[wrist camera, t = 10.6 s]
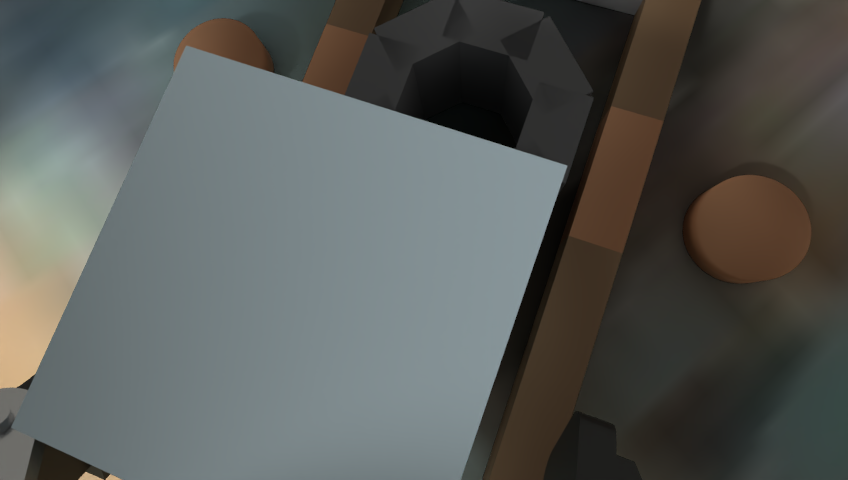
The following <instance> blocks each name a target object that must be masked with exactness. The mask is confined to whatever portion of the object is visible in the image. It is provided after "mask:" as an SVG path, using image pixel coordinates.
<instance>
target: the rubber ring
mask: <svg viewBox="0 0 848 480" xmlns="http://www.w3.org/2000/svg"><path fill="white" fill-rule="evenodd" d="M544 13H545V12H542V11H539V10H535V9H531V8H527V7H524V6H520V5H516V4H512V3H509V2H505V1H501V0H431V1H429V2H427V3H425V4H423V5H421V6H419V7H417V8H415V9H413V10H410V11H408V12H406V13H404V14H402V15H400V16H398V17H396V18H394V19H392V20H390V21H388V22H386V23H384V24H381V25H379V26H377V27H375V28H374V30H375V33H376V34H372V33H369V35H368V38H367V40H366V43H365V45H364V48H363V50H362V53H361V55H360V58H359V60H358V63H357V65H356V68H355V70H354V73H353V75H352V78H351V80H350V82H349V85H348V87H347V90H346V92H345V96H348V97H351V98H354V99H358V100H361V101H364V102H367V103H370V104H373V105H377V106H380V107H383V108H386V109H389V110H392V111H396V112H399V113H402V114H405V115H408V116H411V117H415V118H418V119H421V120H424V121H425V120H426V119H428V118H430V117H432V116H434V115H436V114H438V113H440V112H442V111H444V110H446V109H449V108H451V107H453V106H455V105H457V104H459V103H461V102H463V103H466V104H470V105H473V106H476V107H480V108H483V109H486V110H490V111H493V112H496V113H500V114H501V116H502V117H503V119H504V121H505V123H506V125H507V127H508V129H509V130H510V132H511V134H512V136H513V138H514V140H515V142H516V144H517V146H516V148H514V149H516V150H519V151H522V152H526V153H529V154H532V155H535V156H538V157H541V158H545V159H548V160H551V161H554V162H557V163H560V164H564V165H567V169H566V172H565V174H564V177H563V180H562V183H561V186H560V189H559V192H560V191H561V189H562V188H563V186H564V185H565V183H566V181H567V178H568V175H569V172H570V169H571V166H572V163H573V160H574V157H575V154H576V151H577V148H578V145H579V142H580V139H581V136H582V133H583V130H584V127H585V124H586V121H587V118H588V115H589V112H590V109H591V105H592V102H593V99H594V97H591V95H592V93H593V89H592V88H591V86H590V84H589V82H588V81H587V79H586V77H585V76H584V74H583V72H582V70H581V69H580V67H579V65H578V64H577V62H576V60H575V58H574V57H573V55H572V53H571V52H570V50H569V48H568V46H567V45H566V43H565V41H564V40H563V38H562V36H561V34H560V33H559V31H558V29H557V27H556V26H555V24H554V22H553V21H552V19H551V17H550V16H549V17H547V18H545V19H543V17H544ZM559 192H558V194H559Z"/></svg>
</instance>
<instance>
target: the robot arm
mask: <svg viewBox="0 0 848 480" xmlns="http://www.w3.org/2000/svg"><path fill="white" fill-rule="evenodd" d="M34 376H35V375H34ZM34 376H32V377H31V378H30V379H29V380H27V381H26V382H25V383H23V384H22V385H20V386H19V387H17V388H2V389H0V480H78V479H79V478H80V477H81V476H82V475H83V474H84V473H85V472H88V473H90V474H93V475H95V476H97V477H99V478H101V479H104V480H105V479H106V478H107V477H108V476H109V475H110V473H107V472H105V471H103V470H101V469H99V468H97V467H94V466H92V465H90V464H88V463H86V462H84V461H82V460H79V459H77V458H75V457H73V456H71V455H69V454H66V453H64V452H62V451H60V450H58V449H56V448H54V447H51V446H49V445H47V444H45V443H43V442H41V441H38V440H36V439H34V438H32V437H30V436H28V435H26V434H23V433H21V432H19V431H17V430H15V429H13V428H11V427H12V424H13V422H14V420H15V418H16V416H17V413H18V411H19V409H20V407H21V405H22V403H23V400H24V398H25V396H26V394H27V392H28V389H29V387H30V385H31V383H32V381H33V379H34ZM543 480H642V478H641V476H640V474H639V471H638V469H637V467H636V464H635V462H633V461H631V460H628V459H625V458H623V457H620V456H617V455H616V429H615V426H614V425H613V424H611V423H608V422H605V421H603V420H600V419H597V418H594V417H592V416H589V415H586V414H583V413H581V412H578V411H576V412H575V413H574V414H573V416H572V417H571V419H570V421H569V423H568V424H567V426H566V428H565V429H564V431H563V433H562V435H561V436H560V438H559V440H558V441H557V443H556V445H555V447H554V448H553V450H552V452H551V454H550V457H549V459H548V462H547V466H546V469H545V474H544V479H543Z"/></svg>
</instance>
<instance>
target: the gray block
mask: <svg viewBox="0 0 848 480" xmlns="http://www.w3.org/2000/svg"><path fill="white" fill-rule="evenodd" d="M566 169H567V165H564V164H560V163H557V162H554V161H551V160H548V159H545V158H541V157H538V156H535V155H532V154H529V153H526V152H522V151H519V150H516V149H513V148H510V147H507V146H503V145H500V144H497V143H494V142H491V141H488V140H484V139H481V138H478V137H475V136H472V135H469V134H465V133H462V132H459V131H456V130H453V129H450V128H446V127H443V126H440V125H437V124H434V123H430V122H427V121H424V120H421V119H418V118H415V117H411V116H408V115H405V114H402V113H399V112H396V111H392V110H389V109H386V108H383V107H380V106H377V105H373V104H370V103H367V102H364V101H361V100H358V99H354V98H351V97H348V96H345V95H342V94H339V93H335V92H332V91H329V90H326V89H323V88H319V87H316V86H313V85H310V84H307V83H304V82H300V81H297V80H294V79H291V78H288V77H285V76H281V75H278V74H275V73H272V72H269V71H266V70H262V69H259V68H256V67H253V66H250V65H247V64H243V63H240V62H237V61H234V60H231V59H228V58H224V57H221V56H218V55H215V54H212V53H208V52H205V51H202V50H199V49H196V48H193V47H189V46H186V47H185V49H184V51H183V53H182V56H181V58H180V60H179V62H178V64H177V67H176V69H175V71H174V73H173V75H172V77H171V80H170V82H169V84H168V86H167V88H166V91H165V93H164V95H163V97H162V99H161V101H160V104H159V106H158V108H157V110H156V112H155V115H154V117H153V119H152V121H151V123H150V125H149V128H148V130H147V132H146V134H145V136H144V139H143V141H142V143H141V145H140V147H139V149H138V152H137V154H136V156H135V158H134V160H133V163H132V165H131V167H130V169H129V171H128V173H127V176H126V178H125V180H124V182H123V184H122V187H121V189H120V191H119V193H118V195H117V197H116V200H115V202H114V204H113V206H112V208H111V211H110V213H109V215H108V217H107V219H106V221H105V224H104V226H103V228H102V230H101V232H100V235H99V237H98V239H97V241H96V243H95V245H94V248H93V250H92V252H91V254H90V256H89V259H88V261H87V263H86V265H85V267H84V269H83V272H82V274H81V276H80V278H79V280H78V283H77V285H76V287H75V289H74V291H73V293H72V296H71V298H70V300H69V302H68V304H67V307H66V309H65V311H64V313H63V315H62V317H61V320H60V322H59V324H58V326H57V328H56V331H55V333H54V335H53V337H52V339H51V341H50V344H49V346H48V348H47V350H46V352H45V355H44V357H43V359H42V361H41V363H40V365H39V368H38V370H37V372H36V374H35V376H34V379H33V381H32V383H31V385H30V387H29V389H28V392H27V394H26V396H25V398H24V400H23V403H22V405H21V407H20V409H19V411H18V413H17V416H16V418H15V420H14V422H13V424H12V427H11V428H13V429H15V430H17V431H19V432H21V433H23V434H26V435H28V436H30V437H32V438H34V439H36V440H38V441H41V442H43V443H45V444H47V445H49V446H51V447H54V448H56V449H58V450H60V451H62V452H64V453H66V454H69V455H71V456H73V457H75V458H77V459H79V460H82V461H84V462H86V463H88V464H90V465H92V466H94V467H97V468H99V469H101V470H103V471H105V472H107V473H110V474H112V475H114V476H116V477H118V478H120V479H122V480H461V478H462V475H463V472H464V469H465V466H466V463H467V460H468V457H469V454H470V451H471V448H472V445H473V442H474V439H475V436H476V433H477V430H478V428H479V425H480V422H481V419H482V416H483V413H484V410H485V407H486V404H487V401H488V398H489V395H490V392H491V389H492V386H493V383H494V380H495V378H496V375H497V372H498V369H499V366H500V363H501V360H502V357H503V354H504V351H505V348H506V345H507V342H508V339H509V336H510V333H511V330H512V327H513V325H514V322H515V319H516V316H517V313H518V310H519V307H520V304H521V301H522V298H523V295H524V292H525V289H526V286H527V283H528V280H529V277H530V275H531V272H532V269H533V266H534V263H535V260H536V257H537V254H538V251H539V248H540V245H541V242H542V239H543V236H544V233H545V230H546V227H547V225H548V222H549V219H550V216H551V213H552V210H553V207H554V204H555V201H556V198H557V195H558V192H559V189H560V186H561V183H562V180H563V177H564V174H565V172H566Z"/></svg>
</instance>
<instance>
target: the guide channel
mask: <svg viewBox="0 0 848 480" xmlns="http://www.w3.org/2000/svg"><path fill="white" fill-rule="evenodd" d="M578 1H581V2H585V3H589V4H593V5H597V6H601V7H604V8H608V9H612V10H616V11H620V12H623V13H627V14H631V15H635V16H634V19H633V22H632V25H631V28H630V31H629V34H628V37H627V40H626V43H625V47H624V50H623V53H622V56H621V59H620V62H619V65H618V68H617V71H616V74H615V77H614V80H613V83H612V86H611V89H610V92H609V95H608V98H607V101H606V104H605V107H604V110H603V114H602V117H601V120H600V123H599V126H598V129H597V132H596V135H595V138H594V141H593V144H592V147H591V150H590V153H589V156H588V159H587V162H586V165H585V168H584V171H583V174H582V177H581V180H580V184H579V187H578V190H577V193H576V196H575V199H574V202H573V205H572V208H571V211H570V214H569V217H568V220H567V223H566V226H565V229H564V232H563V235H562V238H561V241H560V244H559V247H558V250H557V254H556V257H555V260H554V263H553V266H552V269H551V272H550V275H549V278H548V281H547V284H546V287H545V290H544V293H543V296H542V299H541V302H540V305H539V308H538V311H537V314H536V317H535V320H534V324H533V327H532V330H531V333H530V336H529V339H528V342H527V345H526V348H525V351H524V354H523V357H522V360H521V363H520V366H519V369H518V372H517V375H516V378H515V381H514V384H513V387H512V391H511V394H510V397H509V400H508V403H507V406H506V409H505V412H504V415H503V418H502V421H501V424H500V427H499V430H498V433H497V436H496V439H495V442H494V445H493V448H492V451H491V454H490V457H489V461H488V464H487V467H486V470H485V473H484V476H483V479H482V480H543V479H544V474H545V469H546V466H547V462H548V459H549V457H550V454H551V452H552V450H553V448H554V447H555V445H556V443H557V441H558V440H559V438H560V436H561V435H562V433H563V431H564V429H565V428H566V426H567V424H568V423H569V421H570V419H571V417H572V414H573V411H574V408H575V405H576V401H577V398H578V395H579V392H580V389H581V385H582V382H583V379H584V376H585V372H586V369H587V366H588V363H589V360H590V356H591V353H592V350H593V347H594V344H595V340H596V337H597V334H598V331H599V327H600V324H601V321H602V318H603V315H604V311H605V308H606V305H607V302H608V299H609V295H610V292H611V289H612V286H613V282H614V279H615V276H616V273H617V270H618V266H619V263H620V260H621V257H622V253H623V250H624V247H625V244H626V241H627V237H628V234H629V231H630V228H631V225H632V221H633V218H634V215H635V212H636V208H637V205H638V202H639V199H640V196H641V192H642V189H643V186H644V183H645V180H646V176H647V173H648V170H649V167H650V163H651V160H652V157H653V154H654V151H655V147H656V144H657V141H658V138H659V134H660V131H661V128H662V125H663V122H664V118H665V115H666V112H667V109H668V106H669V102H670V99H671V96H672V93H673V89H674V86H675V83H676V80H677V77H678V73H679V70H680V67H681V64H682V61H683V57H684V54H685V51H686V48H687V44H688V41H689V38H690V35H691V32H692V28H693V25H694V22H695V19H696V15H697V12H698V9H699V6H700V3H701V0H578ZM402 3H403V0H336V2H335V4H334V6H333V9H332V11H331V14H330V16H329V19H328V21H327V23H326V26H325V28H324V31H323V33H322V35H321V38H320V40H319V43H318V45H317V47H316V50H315V52H314V55H313V57H312V59H311V62H310V64H309V67H308V69H307V71H306V74H305V76H304V79H303V81H302V82H304V83H307V84H310V85H313V86H316V87H319V88H323V89H326V90H329V91H332V92H335V93H339V94H342V95H345V92H346V90H347V87H348V85H349V82H350V80H351V78H352V75H353V73H354V70H355V68H356V65H357V63H358V60H359V58H360V55H361V53H362V50H363V48H364V45H365V43H366V40H367V38H368V35H369V33H372V34H376V33H375V30H374V28H375V27H377V26H379V25H381V24H384V23H386V22H388V21H390V20H392V19H394V18H396V17H397V15H398V13H399V10H400V8H401V5H402ZM186 46H189V47H193V48H196V49H199V50H202V51H205V52H208V53H212V54H215V55H218V56H221V57H224V58H228V59H231V60H234V61H237V62H240V63H243V64H247V65H250V66H253V67H256V68H259V69H262V70H266V71H269V72H272V73H274V66H273V61H272V58H271V56H270V54H269V52H268V51H267V49H266V48H265V47H264V45H263V44H262V43H261V41H260V40H259V38H258V37H257V36H256V34H255V33H254V32H253V31H252V30H251V29H250V28H249V27H248V26H247V25H245V24H243V23H242V22H239V21H237V20H233V19H226V18H221V19H213V20H210V21H206V22H204V23H202V24H200V25H198V26H196V27H195V28H194V29H192V30H191V31H190V32H189V33H188V34H187V35H186V36H185V37H184V38H183V40H182V41H181V43H180V45H179V47H178V49H177V51H176V54H175V58H174V71H175V69H176V67H177V64H178V62H179V60H180V58H181V56H182V53H183V51H184V49H185V47H186ZM683 238H684V243H685V246H686V249H687V251H688V253H689V255H690V256H691V258H692V259H693V261H694V262H695V263H696V264H697V265H698V266H699V267H700V268H701V269H702V270H703V271H704V272H706V273H707V274H709V275H710V276H712V277H714V278H716V279H719V280H721V281H725V282H729V283H736V284H744V283H752V282H758V281H765V280H771V279H775V278H778V277H781V276H783V275H785V274H787V273H789V272H790V271H792V270H793V269H794V268H796V267H797V266H798V265H799V264H800V263H801V261H802V260H803V258H804V257H805V255H806V253H807V251H808V249H809V246H810V241H811V223H810V219H809V215H808V213H807V210H806V208H805V207H804V205H803V203H802V202H801V201H800V199H799V198H798V197H797V196H796V195H795V194H794V192H792V191H791V190H790V189H789V188H788V187H786V186H784V185H783V184H781V183H779V182H777V181H775V180H773V179H770V178H767V177H763V176H757V175H742V176H736V177H732V178H730V179H727V180H725V181H723V182H721V183H719V184H718V185H716V186H714V187H712V188H711V189H709V190H707V191H705V192H704V193H702V194H701V195H699V196H698V197H697V198H696V199H695V200H694V201H693V202H692V204H691V205H690V207H689V208H688V210H687V212H686V215H685V218H684V222H683Z"/></svg>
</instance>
